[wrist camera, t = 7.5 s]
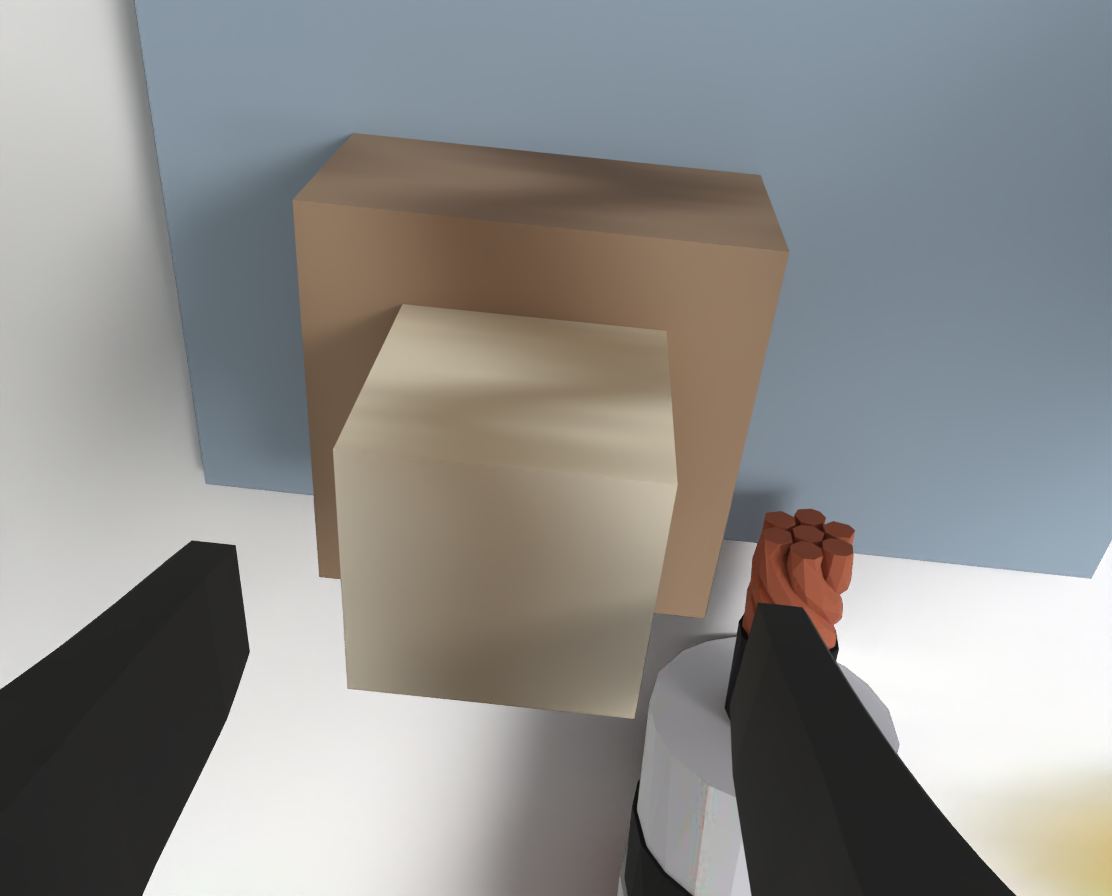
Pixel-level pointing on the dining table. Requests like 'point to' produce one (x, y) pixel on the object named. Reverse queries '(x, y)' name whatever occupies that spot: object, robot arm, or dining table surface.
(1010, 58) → the mat
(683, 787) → the cable
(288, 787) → the dining table surface
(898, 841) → the robot arm
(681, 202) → the walnut base
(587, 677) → the maple cube
